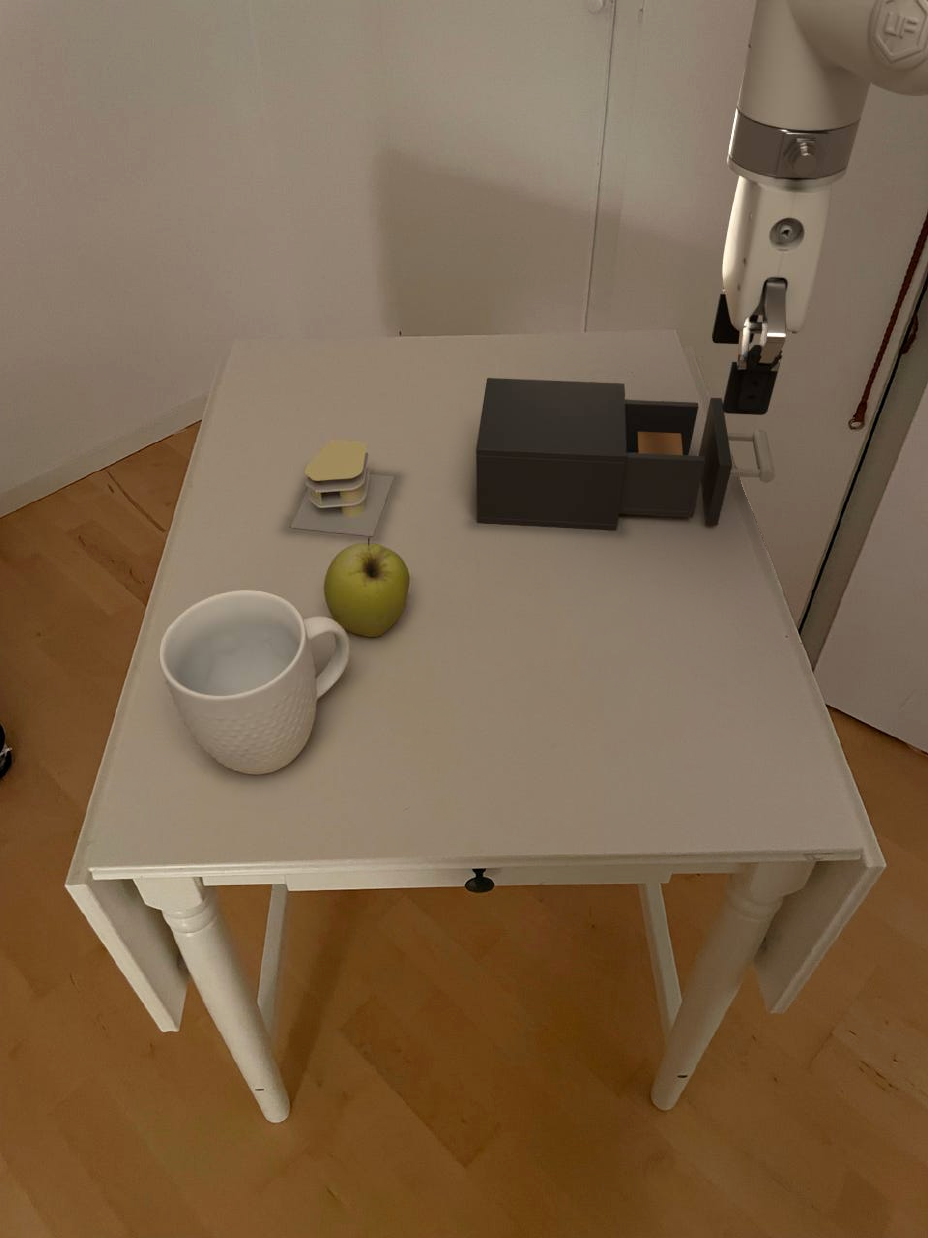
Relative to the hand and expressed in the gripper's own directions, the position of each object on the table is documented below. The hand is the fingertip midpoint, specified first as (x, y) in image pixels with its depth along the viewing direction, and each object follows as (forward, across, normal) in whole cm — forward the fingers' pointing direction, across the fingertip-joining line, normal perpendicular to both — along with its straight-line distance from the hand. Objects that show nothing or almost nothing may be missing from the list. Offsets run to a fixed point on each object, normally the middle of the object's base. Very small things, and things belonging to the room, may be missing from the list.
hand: (737, 375), depth 71 cm
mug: (+24, -20, +36) cm, 48 cm away
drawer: (+23, +15, +1) cm, 28 cm away
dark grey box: (+24, +15, +14) cm, 32 cm away
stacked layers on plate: (+24, +11, +36) cm, 45 cm away
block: (+22, +15, +3) cm, 27 cm away
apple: (+24, -6, +30) cm, 39 cm away
